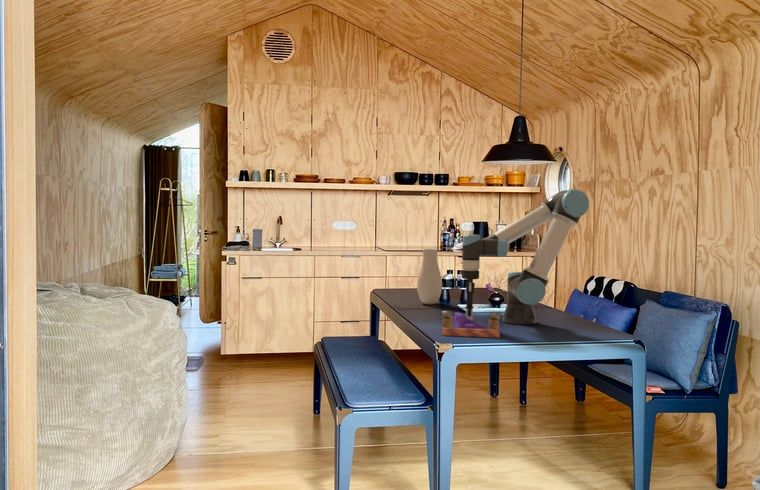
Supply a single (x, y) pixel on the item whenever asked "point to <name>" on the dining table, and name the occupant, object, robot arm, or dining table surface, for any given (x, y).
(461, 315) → the bracket
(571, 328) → the dining table surface
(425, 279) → the vase
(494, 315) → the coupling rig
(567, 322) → the dining table surface
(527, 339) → the dining table surface
